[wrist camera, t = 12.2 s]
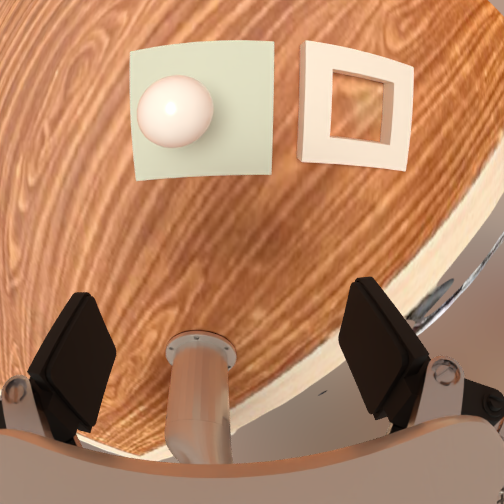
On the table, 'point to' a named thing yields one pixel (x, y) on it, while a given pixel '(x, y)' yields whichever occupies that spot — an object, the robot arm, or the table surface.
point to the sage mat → (225, 108)
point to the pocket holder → (320, 101)
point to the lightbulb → (175, 111)
